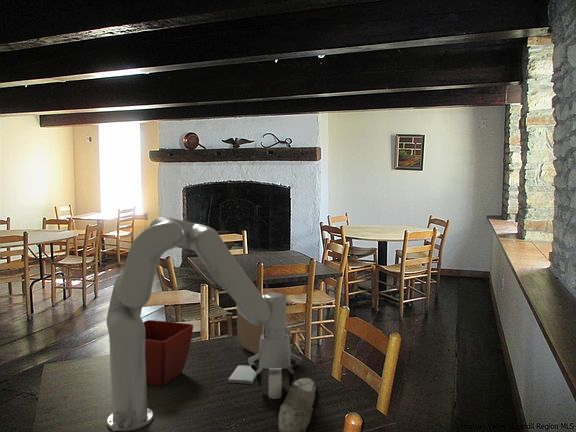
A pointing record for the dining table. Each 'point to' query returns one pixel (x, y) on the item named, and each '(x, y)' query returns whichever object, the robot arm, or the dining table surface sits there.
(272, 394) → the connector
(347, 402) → the dining table surface
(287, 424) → the long grey stone
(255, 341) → the alarm clock
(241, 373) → the hard drive
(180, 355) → the plant pot
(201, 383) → the dining table surface
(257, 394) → the dining table surface
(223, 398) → the dining table surface
